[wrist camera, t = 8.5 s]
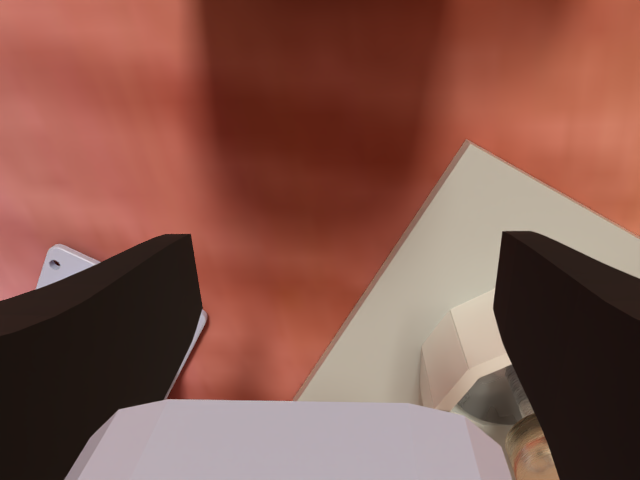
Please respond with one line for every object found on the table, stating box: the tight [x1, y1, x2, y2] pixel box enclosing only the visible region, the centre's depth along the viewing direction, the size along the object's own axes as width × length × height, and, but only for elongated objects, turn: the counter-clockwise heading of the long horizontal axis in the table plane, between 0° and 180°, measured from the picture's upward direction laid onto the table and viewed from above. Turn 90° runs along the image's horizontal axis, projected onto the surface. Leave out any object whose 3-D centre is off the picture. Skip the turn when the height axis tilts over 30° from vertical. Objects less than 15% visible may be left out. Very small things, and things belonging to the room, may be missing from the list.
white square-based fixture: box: [293, 139, 640, 480], centre depth 23 cm, size 16×16×5 cm
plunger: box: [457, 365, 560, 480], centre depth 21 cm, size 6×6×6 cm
